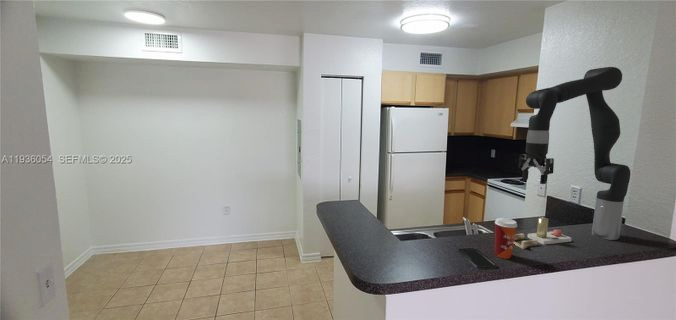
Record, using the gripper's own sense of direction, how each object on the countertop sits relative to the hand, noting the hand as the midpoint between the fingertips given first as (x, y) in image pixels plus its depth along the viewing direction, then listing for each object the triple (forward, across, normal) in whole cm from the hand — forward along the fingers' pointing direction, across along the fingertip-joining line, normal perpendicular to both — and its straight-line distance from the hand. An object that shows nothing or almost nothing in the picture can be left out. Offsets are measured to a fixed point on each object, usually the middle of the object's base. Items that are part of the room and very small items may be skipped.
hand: (533, 181), depth 126 cm
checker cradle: (+27, +1, -12) cm, 30 cm away
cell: (+25, +1, -8) cm, 26 cm away
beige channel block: (+27, +1, +2) cm, 27 cm away
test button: (+26, +1, -16) cm, 31 cm away
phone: (+27, -6, +30) cm, 41 cm away
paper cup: (+27, -6, +18) cm, 33 cm away
